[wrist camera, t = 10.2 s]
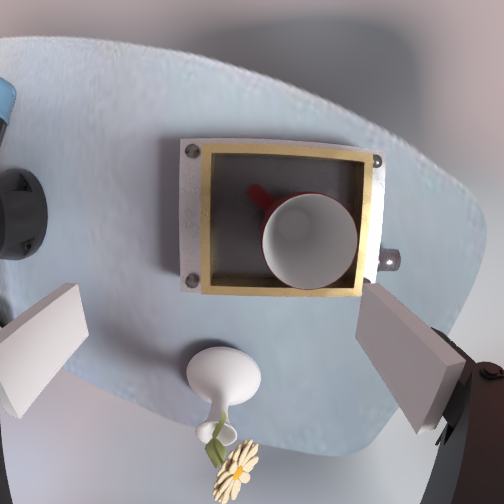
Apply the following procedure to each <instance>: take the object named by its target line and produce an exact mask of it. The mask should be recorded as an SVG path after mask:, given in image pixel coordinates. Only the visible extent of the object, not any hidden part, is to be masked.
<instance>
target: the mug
mask: <svg viewBox="0 0 504 504" xmlns="http://www.w3.org/2000/svg"><path fill="white" fill-rule="evenodd" d="M247 196H248V197H249V198H250V199H251V200H252V201H253V202H254V203H255V204H256V205H257V206H258V207H259V208H261V209H262V210H263V211H264V212H265V217H264V220H263V223H262V227H261V233H260V243H261V249H262V254H263V257H264V260H265V262H266V264H267V266H268V268H269V270H270V271H271V272H272V273H273V275H274V276H275V277H276V278H277V279H279V280H280V281H281V282H283V283H284V284H286V285H288V286H290V287H293V288H296V289H301V290H315V289H320V288H323V287H326V286H328V285H331V284H332V283H334V282H336V281H337V280H338V279H340V278H341V277H342V276H343V275H344V274H345V273H346V272H347V270H348V269H349V268H350V266H351V264H352V262H353V260H354V258H355V255H356V252H357V247H358V233H357V228H356V224H355V222H354V219H353V217H352V216H351V214H350V212H349V211H348V210H347V209H346V208H345V206H344V205H342V204H341V203H340V202H339V201H337V200H336V199H334V198H332V197H330V196H328V195H325V194H321V193H317V192H311V191H303V192H296V193H293V194H290V195H287V196H285V197H283V198H280V199H278V200H276V199H275V198H273V197H272V196H271V195H270V194H269V193H268V192H267V191H266V190H264V189H263V188H262V187H261V186H260V185H258V184H252V185H251V186H250V187H249V188H248V190H247Z"/></svg>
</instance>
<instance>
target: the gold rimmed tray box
mask: <svg viewBox="0 0 504 504" xmlns="http://www.w3.org/2000/svg"><path fill="white" fill-rule="evenodd" d="M385 161H386V151H383V150H376V149H369V148H362V147H355V146H347V145H338V144H329V143H318V142H307V141H293V140H277V139H252V138H191V139H180V167H179V248H180V277H181V292H200V293H201V294H211V295H239V296H285V297H354V296H361V295H362V288H363V283H375V278H376V271H397V270H398V269H399V267H400V262H401V257H400V253H399V251H398V250H397V249H381V248H379V247H380V238H381V228H382V217H383V204H384V188H385ZM252 184H258V185H260V186H261V187H262V188H263V189H264V190H266V191H267V192H268V193H269V194H270V195H271V196H272V197H273V198H275V199H276V200H278V199H280V198H283V197H285V196H287V195H290V194H293V193H296V192H303V191H311V192H317V193H321V194H325V195H328V196H330V197H332V198H334V199H336V200H337V201H339V202H340V203H341V204H342V205H344V206H345V208H346V209H347V210H348V211H349V212H350V214H351V216H352V217H353V219H354V222H355V224H356V228H357V233H358V247H357V252H356V255H355V258H354V260H353V262H352V264H351V266H350V268H349V269H348V270H347V272H346V273H345V274H344V275H343V276H342V277H341V278H340V279H338V280H337V281H336V282H334V283H332V284H331V285H328V286H326V287H323V288H320V289H315V290H301V289H296V288H293V287H290V286H288V285H286V284H284V283H283V282H281V281H280V280H279V279H277V278H276V277H275V276H274V275H273V273H272V272H271V271H270V270H269V268H268V266H267V264H266V262H265V260H264V257H263V254H262V249H261V243H260V233H261V227H262V223H263V220H264V217H265V212H264V211H263V210H262V209H261V208H259V207H258V206H257V205H256V204H255V203H254V202H253V201H252V200H251V199H250V198H249V197H248V196H247V190H248V188H249V187H250V186H251V185H252Z"/></svg>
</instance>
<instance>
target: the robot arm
mask: <svg viewBox="0 0 504 504" xmlns="http://www.w3.org/2000/svg"><path fill="white" fill-rule="evenodd" d="M15 100H16V90H15V88H14V86H13V85H12V84H11V83H9V82H8V81H6V80H4V79H3V78H1V77H0V146H1V143H2V139H3V136H4V133H5V131H6V128H7V126H8V125H9V118H10V115H11V112H12V109H13V106H14V103H15ZM47 219H48V213H47V203H46V198H45V194H44V191H43V189H42V186H41V184H40V183H39V181H38V180H37V178H36V177H35V176H34V175H33V174H32V173H31V172H29V171H27V170H24V169H11V170H7V171H5V172H3V173H1V174H0V259H5V260H21V259H24V258H26V257H29V256H31V255H33V254H34V253H35V252H36V251H37V250H38V249H39V247H40V246H41V244H42V242H43V239H44V237H45V233H46V228H47ZM88 335H89V333H88V329H87V325H86V321H85V316H84V312H83V307H82V302H81V297H80V292H79V287H78V284H75V283H65V284H64V285H62V286H61V287H59V288H58V289H56V290H55V291H53V292H52V293H50V294H49V295H48V296H46V297H45V298H43V299H42V300H40V301H39V302H38V303H36V304H35V305H33V306H32V307H31V308H29V309H28V310H27V311H25V312H24V313H22V314H21V315H20V316H18V317H17V318H16V319H14V320H13V321H12V322H10V323H9V324H8V325H6V326H5V327H4V328H2V329H1V330H0V402H1V404H2V406H3V407H4V409H5V411H6V413H8V414H10V415H12V416H14V417H16V418H19V419H20V418H21V417H22V416H23V414H24V413H25V412H26V411H27V409H28V408H29V406H30V405H31V404H32V403H33V401H34V400H35V399H36V398H37V396H38V395H39V394H40V393H41V391H42V390H43V389H44V388H45V386H46V385H47V384H48V383H49V381H50V380H51V379H52V378H53V376H54V375H55V374H56V373H57V372H58V370H59V369H60V368H61V367H62V366H63V364H64V363H65V362H66V361H67V360H68V359H69V357H70V356H71V355H72V354H73V353H74V351H75V350H76V349H77V348H78V347H79V346H80V345H81V343H82V342H83V341H84V340H85V339H86V338H87V337H88ZM355 338H356V339H357V341H358V342H359V344H360V345H361V347H362V348H363V350H364V351H365V353H366V354H367V356H368V357H369V359H370V360H371V362H372V364H373V365H374V367H375V368H376V370H377V371H378V373H379V374H380V376H381V378H382V379H383V381H384V382H385V384H386V385H387V387H388V389H389V390H390V392H391V393H392V395H393V396H394V398H395V400H396V401H397V403H398V404H399V406H400V408H401V409H402V411H403V412H404V414H405V416H406V417H407V419H408V421H409V422H410V424H411V426H412V427H413V429H414V430H415V432H416V434H417V435H418V434H421V433H424V432H427V431H430V430H433V429H435V428H436V427H437V425H438V423H439V421H440V419H441V417H442V415H443V417H444V418H445V419H446V421H447V424H446V426H445V428H444V430H443V432H442V433H441V435H440V437H439V439H438V440H437V442H436V444H435V445H438V444H439V442H440V441H441V442H440V446H439V449H438V453H437V456H436V460H435V463H434V466H433V469H432V472H431V476H430V479H429V481H428V484H427V487H426V490H425V492H424V495H423V498H422V500H421V503H420V504H504V370H503V369H502V368H501V367H500V366H498V365H496V364H494V363H491V362H479V363H475V361H474V360H472V359H471V358H470V357H469V356H468V355H467V354H466V353H465V352H464V351H463V350H462V349H460V348H459V347H458V346H456V344H455V343H454V342H453V341H450V339H449V338H448V337H447V336H446V335H445V334H444V333H442V332H440V331H438V330H436V329H434V328H432V327H431V328H430V327H429V326H428V325H427V324H426V323H424V322H423V321H422V320H421V319H420V318H419V317H418V316H417V315H415V314H414V313H413V312H412V311H411V310H410V309H408V308H407V307H406V306H405V305H404V304H403V303H402V302H400V301H399V300H398V299H397V298H396V297H394V296H393V295H392V294H391V293H390V292H389V291H387V290H386V289H385V288H384V287H383V286H381V285H380V284H379V283H363V288H362V296H361V303H360V310H359V317H358V323H357V330H356V335H355ZM0 504H13V503H12V499H11V494H10V490H9V485H8V480H7V475H6V469H5V463H4V456H3V448H2V438H1V427H0Z"/></svg>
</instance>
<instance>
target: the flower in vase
mask: <svg viewBox="0 0 504 504" xmlns="http://www.w3.org/2000/svg"><path fill="white" fill-rule="evenodd" d="M186 373H187V380H188V383H189V385H190V387H191V389H192V390H193V391H194V393H195V394H196V395H198V396H199V397H200V398H202V399H203V400H205V401H207V402H209V403H212V405H211V410H210V413H209V416H208V418H207V420H206V421H205V422H203V423H201V424H200V425H198V427H197V428H196V431H195V432H196V436H197V437H198V439H199V440H201V441H202V442H204V443H206V447H205V450H206V452H207V454H208V456H209V458H210V459H211V461H212V463H213V465H214V466H215V468H217V467H218V466H219V465H220V464H221V465H222V467H221V469H220V470H219V471H218V473H217V475H216V477H217V478H218V479H217V480H216V482H215V484H214V490H213V496H214V500H215V501H216V500H217V499H218V501H219V502H221V504H225V503H226V502H227V501H228V498H229V496H231V499H232V500H234V499H235V498H236V497H237V494H238V492H239V491H240V486H241V482H242V483H247V482H248V481H249V479H250V475H249V474H248V473H249V471H251V470H252V469H253V466H254V465H255V464H256V463H257V461H258V457H253V456H254V455H255V454H256V452H257V450H258V444H255V445H254V444H252V441H253V439H251V440H249V441H248V440H245V441H244V442H243V443H242V444H239V445H238V446H237V448H236V449H235V451H234V450H232V451H231V452H230V453H229V455H228V457H227V460H225V461H223V460H224V458H225V456H226V449H225V447H224V446H227V445H230V444H232V443H233V442H234V441H235V440H236V439H237V433H236V431H235V429H234V428H233V427H232V426H231V425H230V423H229V420H228V406H230V405H236V404H240V403H242V402H245V401H246V400H248V399H249V398H251V397H252V396H253V395H254V394H255V392H256V391H257V389H258V387H259V385H260V382H261V373H260V369H259V367H258V365H257V364H256V362H255V361H254V360H253V359H252V358H251V357H250V356H248V355H247V354H245V353H244V352H242V351H239V350H237V349H234V348H229V347H212V348H208V349H205V350H202V351H200V352H199V353H197V354H196V355H195V356H194V357H193V358H192V359H191V360H190V362H189V364H188V366H187V371H186ZM251 444H252V445H251ZM252 457H253V458H252Z"/></svg>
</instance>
